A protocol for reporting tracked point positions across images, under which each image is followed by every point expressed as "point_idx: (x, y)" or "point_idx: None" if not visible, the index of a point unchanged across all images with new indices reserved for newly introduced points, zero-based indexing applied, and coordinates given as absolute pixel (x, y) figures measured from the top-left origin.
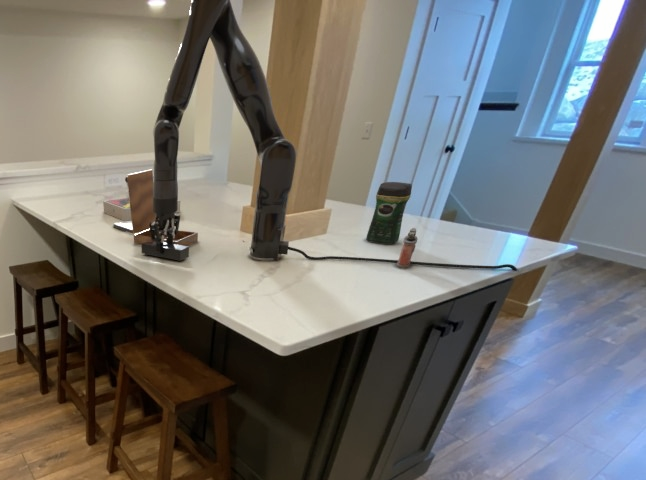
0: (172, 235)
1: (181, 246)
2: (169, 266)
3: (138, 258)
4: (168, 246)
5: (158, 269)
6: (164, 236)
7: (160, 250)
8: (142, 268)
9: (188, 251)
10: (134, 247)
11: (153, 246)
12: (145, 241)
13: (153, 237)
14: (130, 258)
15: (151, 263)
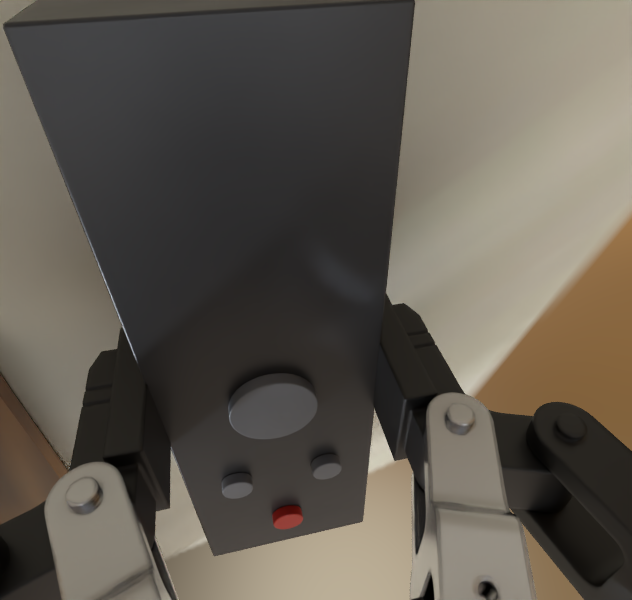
0: (134, 506)
1: (149, 182)
2: (456, 58)
3: None
4: (300, 331)
5: (591, 99)
6: None
7: (412, 325)
8: (587, 240)
9: (48, 1)
10: (178, 551)
11: (369, 434)
12: None
13: (562, 509)
14: None
15: (435, 274)
